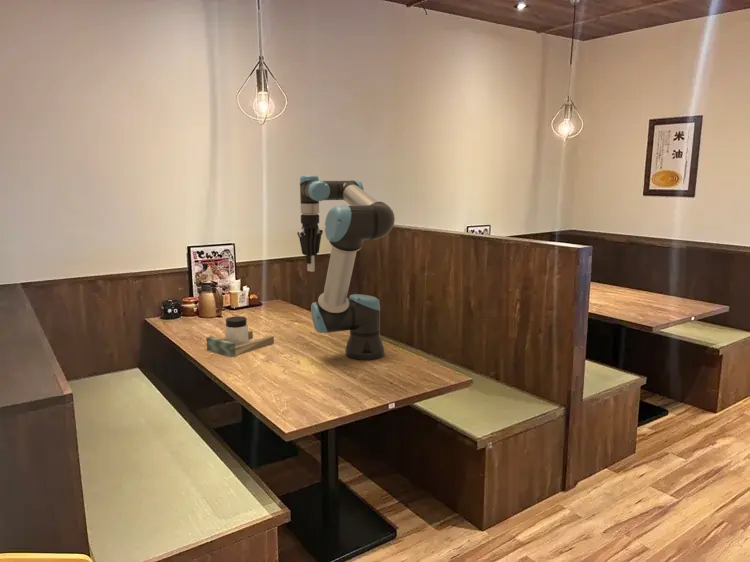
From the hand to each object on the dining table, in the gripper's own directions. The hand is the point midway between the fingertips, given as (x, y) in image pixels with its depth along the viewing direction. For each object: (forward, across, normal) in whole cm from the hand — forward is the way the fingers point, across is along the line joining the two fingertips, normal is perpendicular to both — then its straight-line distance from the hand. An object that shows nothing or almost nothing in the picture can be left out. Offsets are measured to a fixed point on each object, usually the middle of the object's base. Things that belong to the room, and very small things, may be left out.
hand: (311, 271), depth 239 cm
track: (+29, +24, -16) cm, 41 cm away
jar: (+30, +27, -16) cm, 43 cm away
